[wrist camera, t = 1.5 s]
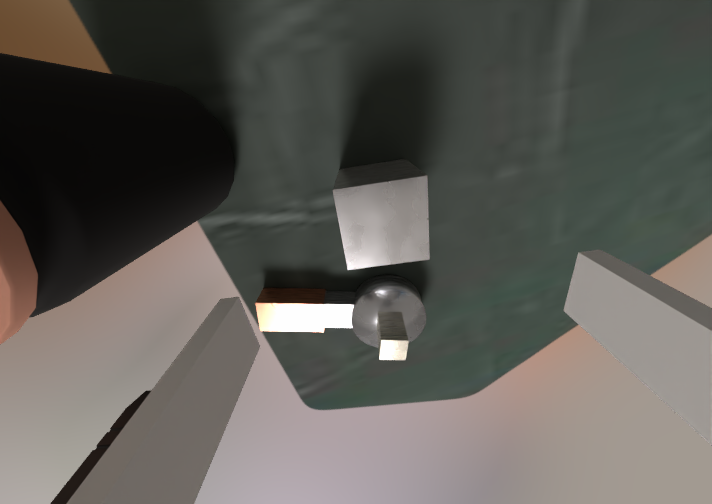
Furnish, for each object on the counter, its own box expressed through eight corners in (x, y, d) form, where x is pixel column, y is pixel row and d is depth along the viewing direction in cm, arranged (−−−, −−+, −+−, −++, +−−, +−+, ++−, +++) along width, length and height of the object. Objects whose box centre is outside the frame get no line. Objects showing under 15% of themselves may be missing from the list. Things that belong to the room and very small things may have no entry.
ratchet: (424, 275, 29) (443, 317, 23) (415, 330, 33) (429, 379, 26) (261, 271, 29) (235, 313, 22) (270, 327, 32) (249, 377, 26)
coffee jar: (113, 59, 20) (-836, -181, 4) (251, 117, 22) (-32, 108, 6) (114, 188, 25) (-338, 315, 9) (229, 227, 26) (34, 394, 10)
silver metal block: (339, 169, 24) (332, 189, 17) (405, 158, 23) (427, 175, 16) (349, 229, 27) (347, 270, 19) (409, 221, 26) (429, 259, 19)
